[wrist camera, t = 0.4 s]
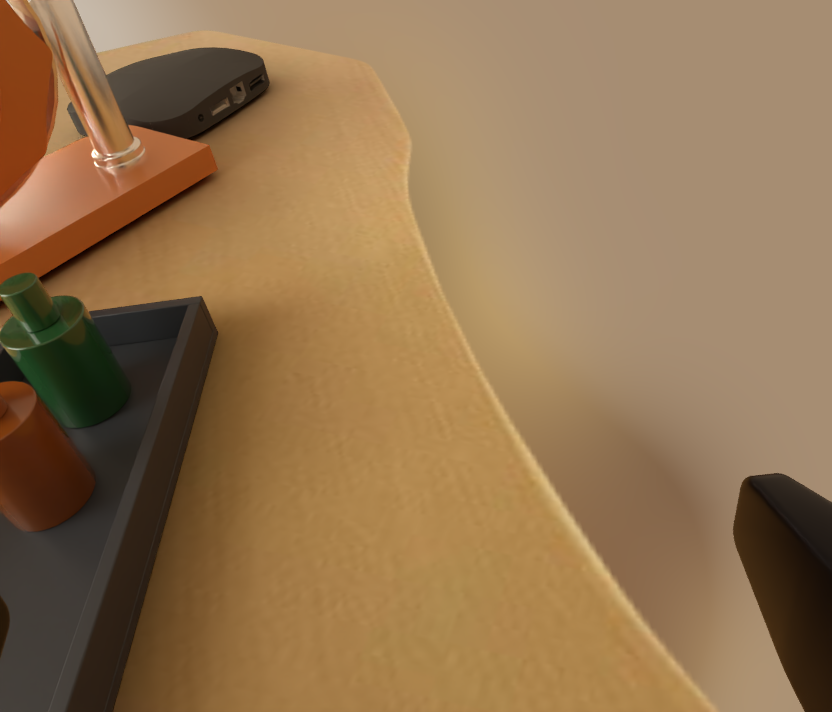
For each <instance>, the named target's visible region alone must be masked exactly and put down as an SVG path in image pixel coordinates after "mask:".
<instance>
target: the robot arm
mask: <svg viewBox="0 0 832 712" xmlns="http://www.w3.org/2000/svg"><path fill="white" fill-rule="evenodd" d="M733 535H734V541H735V545H736V548H737V551H738V553H739V556H740V558H741V561H742V564H743V566H744V569H745V571H746V574H747V576H748V579H749V581H750V584H751V587H752V589H753V592H754V595H755V597H756V600H757V602H758V605H759V607H760V610H761V612H762V615H763V618H764V620H765V623H766V625H767V628H768V630H769V633H770V636H771V638H772V641H773V643H774V646H775V649H776V651H777V654H778V656H779V659H780V661H781V663H782V666H783V668H784V671H785V673H786V675H787V677H788V679H789V681H790V683H791V685H792V687H793V689H794V691H795V694H796V696H797V698H798V699H799V701H800V703H801V705H802V707H803V709H804V711H805V712H832V502H830V501H828V500H827V499H825V498H824V497H822V496H820V495H819V494H817V493H815V492H814V491H812V490H810V489H809V488H807V487H805V486H804V485H802V484H800V483H798V482H797V481H795V480H794V479H792V478H790V477H788V476H786V475H784V474H779V473H774V474H765V475H756V476H750V477H747V478H746V479H745V480H744V481H743V482H742V485H741V488H740V494H739V499H738V504H737V510H736V515H735V520H734V526H733ZM9 626H10V613H9V609H8V606H7V605H6V603H5V601H4V600H3V598H2V597H1V595H0V658H1V655H2V651H3V648H4V645H5V641H6V638H7V634H8V631H9Z"/></svg>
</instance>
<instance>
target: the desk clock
mask: <svg viewBox="0 0 832 712" xmlns="http://www.w3.org/2000/svg"><path fill="white" fill-rule="evenodd" d="M8 1H9V2H10V4H11V5H12V7H13V9H14V10H13V9H12V8H11V6H10V5H9V4H8V3H7V1H6V0H0V285H1V284H2V283H3V282H4V281H5V280H7V279H9V278H10V277H12V276H15V275H17V274H21V273H34V274H35V275H37V277H38V278H39V277H40V276H42V275H44V274H45V273H47V272H49V271H50V270H52V269H54V268H55V267H57V266H59V265H60V264H62V263H64V262H65V261H67V260H69V259H70V258H72V257H74V256H75V255H77V254H79V253H80V252H82V251H84V250H85V249H87V248H88V247H90V246H92V245H93V244H95V243H97V242H98V241H100V240H102V239H103V238H105V237H107V236H108V235H110V234H112V233H113V232H115V231H117V230H118V229H120V228H122V227H123V226H125V225H127V224H128V223H130V222H132V221H133V220H135V219H137V218H138V217H140V216H142V215H143V214H145V213H147V212H148V211H150V210H151V209H153V208H155V207H156V206H158V205H160V204H161V203H163V202H165V201H166V200H168V199H170V198H171V197H173V196H175V195H176V194H178V193H180V192H181V191H183V190H185V189H186V188H188V187H190V186H191V185H193V184H195V183H196V182H198V181H200V180H201V179H203V178H205V177H206V176H208V175H209V174H211V173H213V172H214V171H216V170H218V168H217V165H216V162H215V160H214V157H213V154H212V151H211V149H210V146H209V145H207V144H203V143H200V142H196V141H192V140H188V139H184V138H180V137H176V136H173V135H169V134H165V133H161V132H157V131H153V130H150V129H146V128H142V127H138V126H133V125H128V124H127V121H126V119H125V117H124V115H123V112H122V110H121V108H120V105H119V103H118V101H117V99H116V96H115V94H114V92H113V90H112V87H111V85H110V83H109V80H108V78H107V76H106V74H105V71H104V69H103V67H102V65H101V62H100V60H99V58H98V55H97V53H96V51H95V49H94V46H93V44H92V42H91V40H90V37H89V35H88V33H87V31H86V28H85V26H84V24H83V22H82V19H81V17H80V15H79V12H78V10H77V8H76V6H75V3H74V1H73V0H31V1H30V3H29V2H28V1H27V0H8ZM57 73H58V74H57ZM58 75H59V77H60V79H61V81H62V83H63V86H64V88H65V90H66V92H67V94H68V96H69V98H70V100H71V102H72V104H73V106H74V108H75V110H76V112H77V114H78V116H79V118H80V120H81V123H82V125H83V127H84V129H85V131H86V133H87V135H88V136H87V137H84V138H82V139H79V140H77V141H75V142H73V143H71V144H69V145H67V146H65V147H63V148H61V149H59V150H57V151H55V152H53V153H51V154H49V155H47V156H45V157H43V156H44V155H45V153H46V150H47V145H48V142H49V139H50V137H51V134H52V131H53V128H54V124H55V117H56V111H57V105H58ZM42 157H43V158H42ZM1 300H2V299H1V297H0V301H1Z"/></svg>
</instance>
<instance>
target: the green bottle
mask: <svg viewBox="0 0 832 712" xmlns="http://www.w3.org/2000/svg"><path fill="white" fill-rule="evenodd" d="M0 297H1V299H2V300H3V302H4V303H5V305H6V306H7V307H8V309H9V310H10V312H11V313H12V315H13V316H12V317H11V318H10V319H8V321H7V322H6V323H5V324H4V325H3V327H2V329H1V331H0V343H1V345H2V346H3V347H4V349H5V350H6V351H7V353H8V354H9V355H10V357H11V358H12V359H13V361H14V362H15V364H16V365H17V366H18V368H19V369H20V370H21V372H22V373H23V374H24V376H25V377H26V378H27V380H28V381H29V383H30V384H31V385H32V387H33V388H34V389H35V391H36V392H37V393H38V395H39V396H40V397H41V399H42V400H43V401H44V403H45V404H46V406H47V407H48V408H49V410H50V411H51V412H52V414H53V415H54V416H55V418H56V419H57V420H58V422H59V423H60V424H62V425H64V426H66V427H69V428H85V427H90V426H93V425H96V424H99V423H101V422H103V421H105V420H107V419H108V418H110V417H112V416H113V415H114V414H116V413H117V412H118V411H119V410H120V409H121V408H122V407H123V406H124V405H125V404H126V402H127V401H128V399H129V397H130V394H131V383H130V381H129V379H128V377H127V376H126V374H125V372H124V371H123V369H122V367H121V366H120V364H119V362H118V361H117V359H116V357H115V356H114V354H113V352H112V351H111V349H110V347H109V346H108V344H107V342H106V341H105V339H104V337H103V335H102V334H101V332H100V330H99V329H98V327H97V325H96V324H95V322H94V320H93V319H92V317H91V315H90V314H89V312H88V310H87V309H86V307H85V305H84V304H83V302H82V301H81V300H79V299H78V298H76V297H73V296H55V297H50V296H49V294H48V292H47V291H46V289H45V288H44V286H43V285H42V283H41V281H40V280H39V278H38V277H37V275H35V274H34V273H21V274H17V275H15V276H12V277H10V278H9V279H7V280H5V281H4V282H3V283H2V284H1V285H0Z"/></svg>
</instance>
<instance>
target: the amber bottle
mask: <svg viewBox="0 0 832 712" xmlns="http://www.w3.org/2000/svg"><path fill="white" fill-rule="evenodd" d="M95 483H96V476H95V472H94V470H93V468H92V467H91V465H90V464H89V463H88V461H87V460H86V459H85V457H84V456H83V455H82V453H81V452H80V451H79V449H78V448H77V447H76V445H75V444H74V442H73V441H72V440H71V438H70V437H69V436H68V434H67V433H66V432H65V430H64V429H63V428H62V426H61V425H60V423H59V422H58V421H57V419H56V418H55V417H54V415H53V414H52V413H51V411H50V410H49V409H48V407H47V406H46V405H45V403H44V402H43V400H42V399H41V398H40V396H39V395H38V394H37V392H36V391H35V390H34V388H33V387H32V386H30V385H29V384H27V383H24V382H19V381H7V382H1V383H0V512H1V513H2V515H3V516H4V517H5V518H6V519H7V520H8V521H9V522H10V523H11V524H12V525H13V526H14V527H15V528H17V529H19V530H22V531H27V532H37V531H43V530H46V529H50V528H52V527H55V526H57V525H59V524H61V523H63V522H65V521H66V520H68V519H69V518H71V517H72V516H73V515H75V514H76V513H77V512H78V511H79V510H80V509H81V508H82V507H83V506H84V505H85V504H86V502H87V501H88V500H89V498H90V496H91V495H92V493H93V490H94V487H95Z"/></svg>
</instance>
